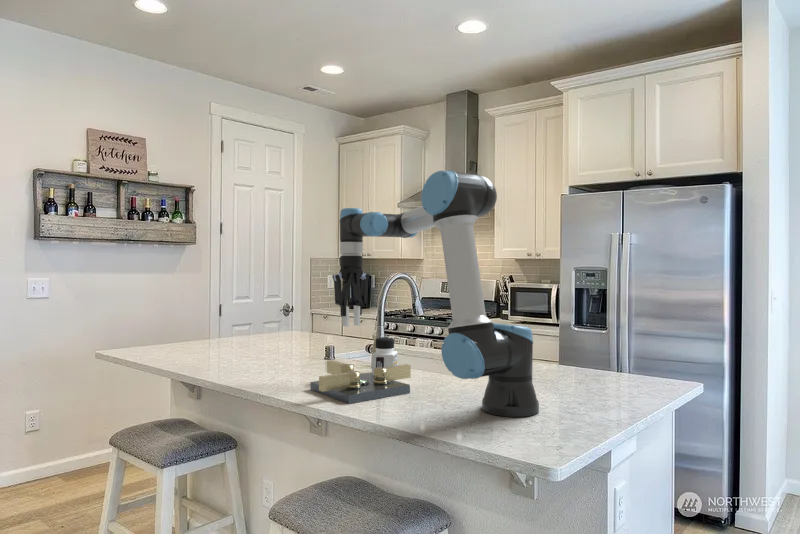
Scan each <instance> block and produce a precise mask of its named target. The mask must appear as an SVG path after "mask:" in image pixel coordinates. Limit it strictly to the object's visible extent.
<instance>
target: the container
mask: <svg viewBox="0 0 800 534" xmlns="http://www.w3.org/2000/svg"><path fill="white" fill-rule="evenodd" d="M397 365H399V363H398V351H397V350H395V339H394V338H393V337H391V336H381V337H376V338H375V352H373V353H371V374H372V375H374V368H378V367H390V366H397Z"/></svg>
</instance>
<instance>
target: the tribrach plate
mask: <svg viewBox="0 0 800 534" xmlns="http://www.w3.org/2000/svg"><path fill="white" fill-rule="evenodd" d="M373 380H374V375H372V373H362V374H360V384H361V387H360V388H353V389H352V388H342V389H336V390H329V391H323V392H322V391H319V380H315V381H310V384H309V385H310V386H309V387H310V391H312V392H315V393H317V394H320V395H324V396H326V397H329V398H332V399H335V400H337V401H339V402H343V403H345V404H347V405H351V404H356V403H362V402H368V401H373V400H380V399H385V398H391V397H395V396H401V395H406V394H411V385H410V384H408V383H405V382H401V381H398V380H393V381H388V383H386V384H375V383H373Z"/></svg>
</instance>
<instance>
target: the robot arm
mask: <svg viewBox="0 0 800 534" xmlns="http://www.w3.org/2000/svg"><path fill="white" fill-rule="evenodd" d="M497 194H498V193H497V190H496V186H495V185H494V184H493V182H492V180H490V179H489V178H488V177H486V176H485V175H482V174H477V173H467V172H461V171H454V170H451V169H450V170H438V171H435V172H433V173H432V174H431V175H430V176H428V178H427V179H426V181H425V183H424V184H423V187H422V191H421V197H420V199H421V200H420V201H421V205H420V206H417V207H414V208H412V209H410V210H407V211H404V212H402V213H398V214H397V213H395V214H394V213H393V214H392V213H381V212H379V211H369V212H364V213H363V209H361V208H356V207H349V208H347V207H345V208H341V210H340V212H339V254H340V256H339V267H340V269H339V271H338V273H337V274H332V276H331V277H332V279H333V284H334V285H333V287H334V304H335V305H338V306H339V307H340V316H341V318H342V322H341V323H342V327H349V325H350V321H349V320H350V317H349V316H350V307H349V306H347V305H348V301H349V300H348V299H349V294H350V287H351V286H352V288H353V289H352V290H353V294H354V300H355V301H354V302H355V305H353V326H358V327H359V326H361V316H362V315H363V314H362V313H363V310H362V309H363V306H364V305H365V304H367V303H368V288H369V279H370V274H369V273H365V272H364V271H363V260H364V258H363V256H362V255H363V254H364V252H363V251H364V248H363V247H364V244H363V242H364V241H363V237H364V238H365V237H367V238H368V237H371V238H372V237H382V238H384V237H385V238H403V239H407V238H414V237H416V235H417V234H418V233H419V232H423V231H426V230H429V229H432V228H437V229H438V230H439V231H440V235H441V244H442V245H441V246H442V251H443V258H444V259H443V260H444V265H445V273H446V280H447V288H448V295H449V302H450V303H449V304H450V310H451V311H450V312H451V318H452V320H451V322H450V324H449V325H448V326H447V330H448V331H447V332H448V335H446V336H445V337H444V339H443V343H442V344H441V350H440V351H441V358H442V360H443V363H444V365H445V367H446V369H447V370H448V371H449V372H451V374H452V375H453V376H454V377H456V378H459V379H461V380H470V379H471V380H476V379H480V378H482V377H487V376H488V381H487V384H486V387H485V390H484V391H485V392H484V394H483V397H482V400H481V409H482V411H483V412H485V413H486V414H487V413H488V414H490V415H495V416H500V417H508V418H511V417H512V418H519V417H520V418H521V417H530V416H534V415H537V414H538V413H539V412H540V403H539V400H538V398H537V393H536V390H535V387H534V386H535V385H534V382H533V362H534V359H533V355H534V354H533V351H534V350H533V347H534V346H533V344H534V340H533V332H532V329H531V328H530V327H529V326H523V325H513V324H505V323H495V322H493V320H491V319H490V318H489V317H488V316H487V314H486V307H485V300H484V299H485V298H484V292H483V287H482V280H481V272H480V267H479V260H478V259H479V258H478V253H477V245H476V239H475V232H474V231H475V230H474V224H475V223H476V222H477V220H478V219H479V218H481V217H485V216H487V215H488V214H490V212H491V211H492V210H494V208H495V206H496V203H497V200H498V195H497ZM360 279H361V280H360Z"/></svg>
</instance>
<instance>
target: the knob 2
mask: <svg viewBox="0 0 800 534" xmlns="http://www.w3.org/2000/svg"><path fill="white" fill-rule="evenodd" d="M411 367H412V366H411V364H407V363H406V364H398V365H397V366H390V367H378V368H374V380H373V383H375V384H386V383H388V381H393V380H394V381H398V380H405V379H409V378H410V379H411V371H412V370H411Z"/></svg>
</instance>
